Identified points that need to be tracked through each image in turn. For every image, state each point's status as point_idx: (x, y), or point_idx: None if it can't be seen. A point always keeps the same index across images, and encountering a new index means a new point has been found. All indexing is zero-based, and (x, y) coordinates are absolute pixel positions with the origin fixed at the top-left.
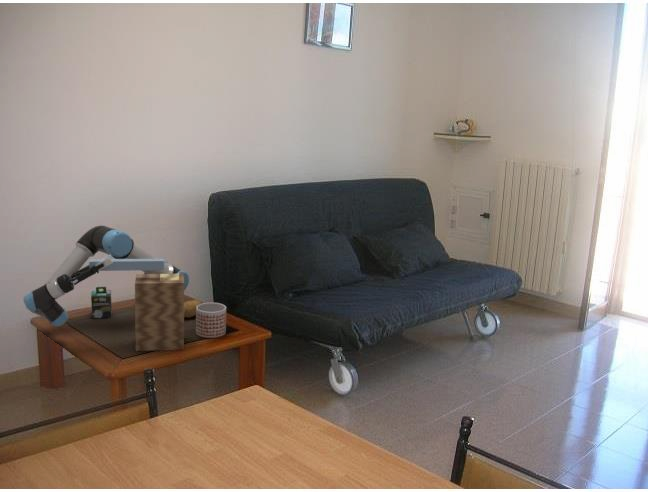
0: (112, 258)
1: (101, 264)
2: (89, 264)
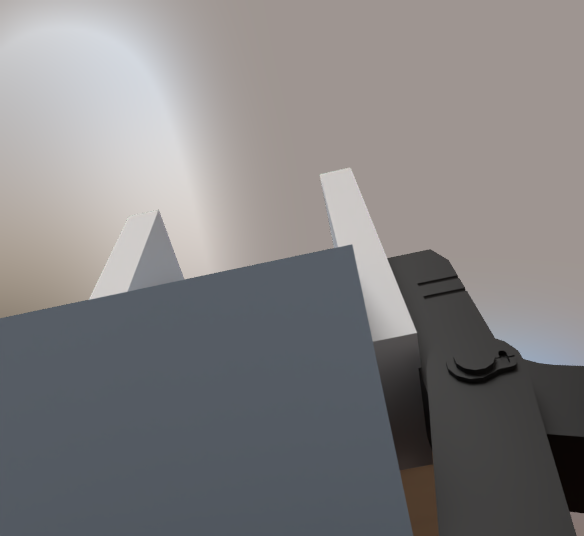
0: (180, 275)
1: (450, 267)
2: (374, 366)
